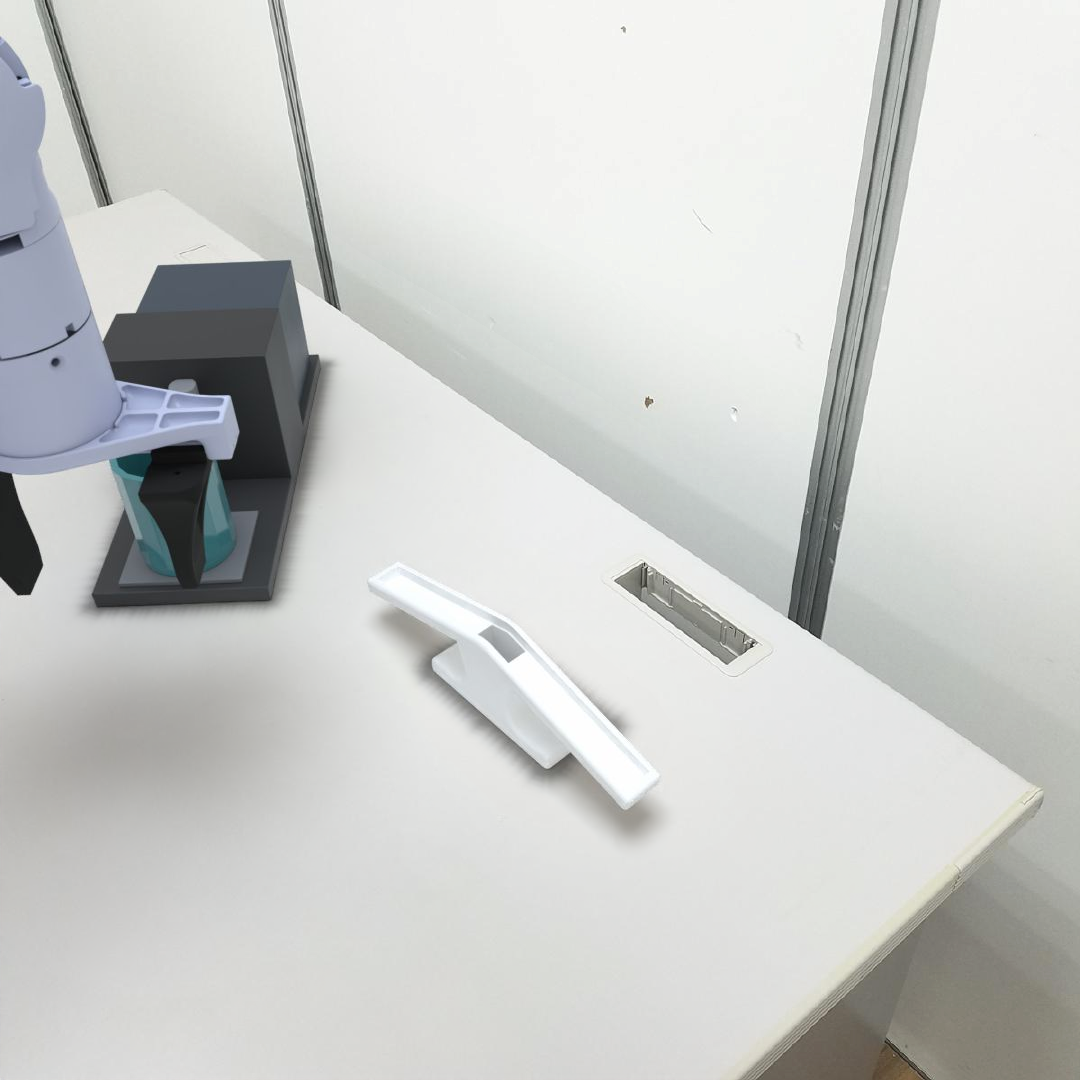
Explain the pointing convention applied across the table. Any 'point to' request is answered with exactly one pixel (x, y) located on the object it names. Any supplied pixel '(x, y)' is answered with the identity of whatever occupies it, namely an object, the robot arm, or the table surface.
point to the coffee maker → (258, 400)
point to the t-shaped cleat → (518, 684)
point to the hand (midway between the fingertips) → (112, 577)
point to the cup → (147, 531)
